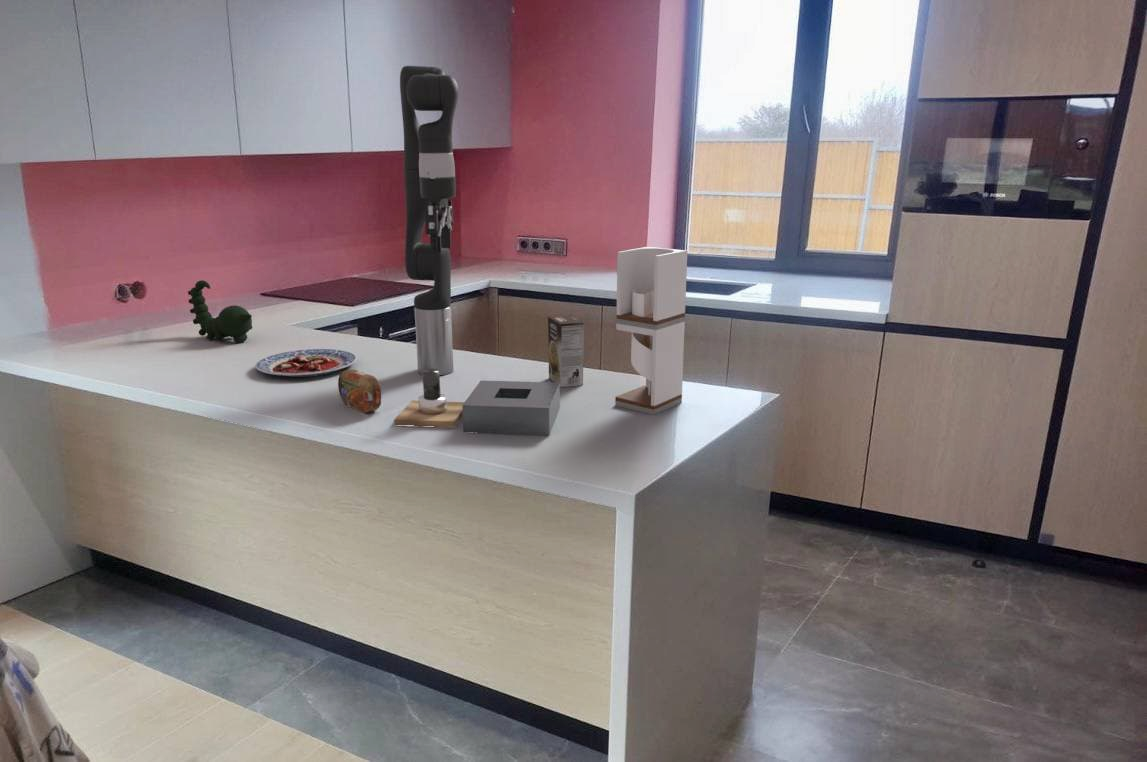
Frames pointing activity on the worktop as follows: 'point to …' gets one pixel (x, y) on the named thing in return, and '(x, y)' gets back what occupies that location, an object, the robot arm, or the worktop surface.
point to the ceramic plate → (306, 362)
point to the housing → (512, 408)
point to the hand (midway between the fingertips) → (441, 251)
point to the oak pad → (430, 416)
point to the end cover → (432, 394)
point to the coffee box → (565, 350)
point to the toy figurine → (219, 318)
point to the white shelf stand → (653, 323)
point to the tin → (359, 390)
